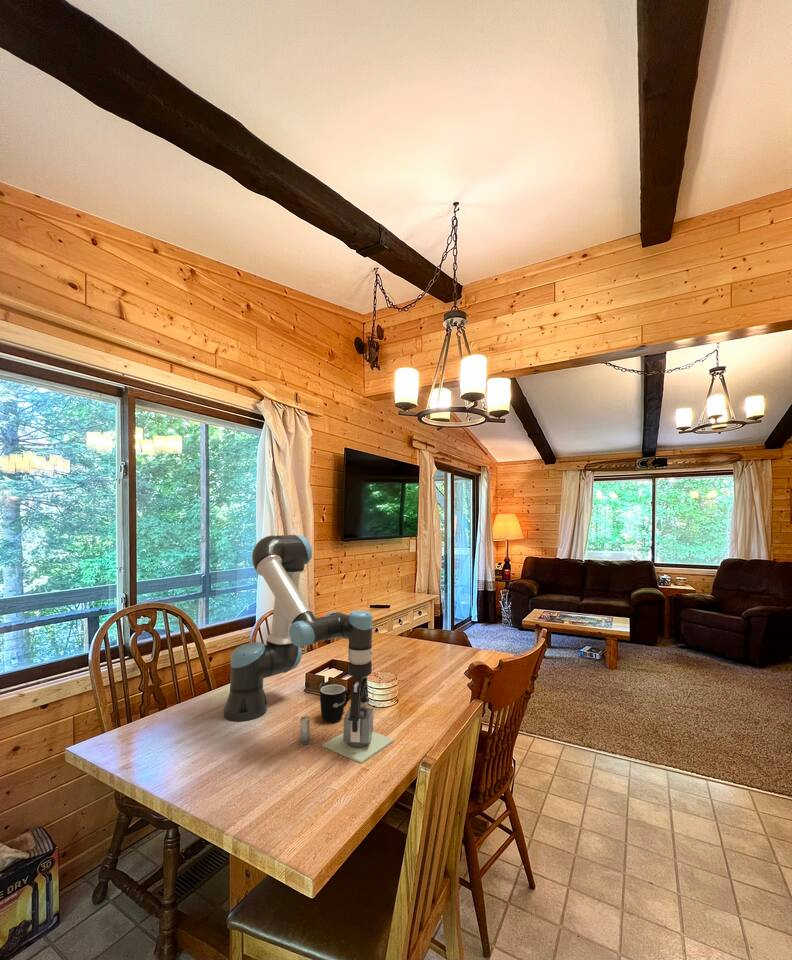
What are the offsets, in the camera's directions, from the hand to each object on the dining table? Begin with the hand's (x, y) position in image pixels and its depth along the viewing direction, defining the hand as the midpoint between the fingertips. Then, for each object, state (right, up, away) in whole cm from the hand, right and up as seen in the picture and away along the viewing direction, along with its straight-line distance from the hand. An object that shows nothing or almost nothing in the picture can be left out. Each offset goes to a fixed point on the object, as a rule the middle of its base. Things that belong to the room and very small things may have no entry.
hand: (359, 732), depth 138 cm
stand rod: (-17, -3, 0) cm, 18 cm away
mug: (-10, -5, +18) cm, 21 cm away
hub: (0, -4, 0) cm, 4 cm away
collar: (0, -1, 0) cm, 1 cm away
